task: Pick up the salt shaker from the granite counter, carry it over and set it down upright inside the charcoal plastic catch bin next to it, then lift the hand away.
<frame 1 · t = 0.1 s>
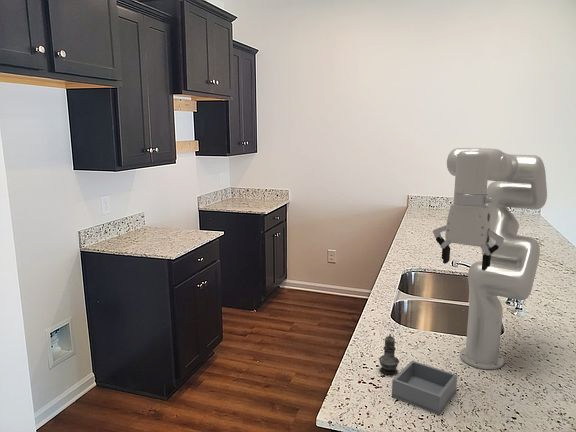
hand: (464, 265, 116), 37 cm above the worktop, tool pointing down, fingers open, 9 cm apart
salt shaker: (388, 371, 135), on the worktop
catch bin: (424, 394, 123), on the worktop
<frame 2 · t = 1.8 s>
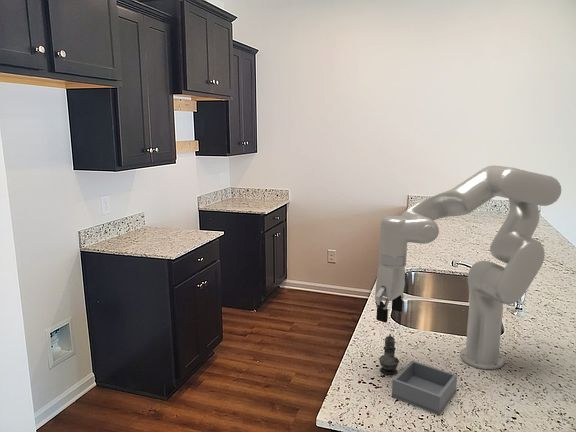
hand: (389, 315, 131), 18 cm above the worktop, tool pointing down, fingers open, 9 cm apart
nothing on the worktop moved.
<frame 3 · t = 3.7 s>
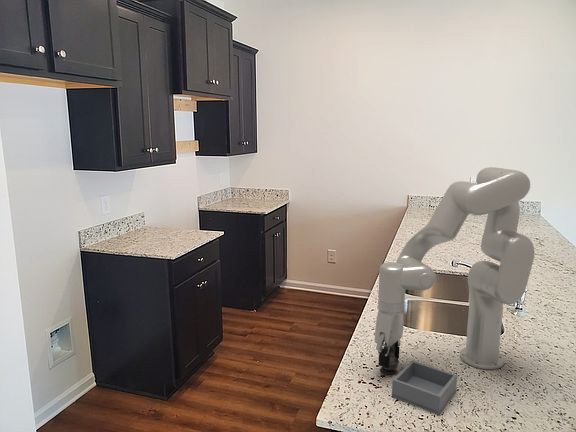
hand: (388, 361, 134), 3 cm above the worktop, tool pointing down, fingers closed on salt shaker, 5 cm apart
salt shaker: (388, 371, 135), on the worktop, touching gripper
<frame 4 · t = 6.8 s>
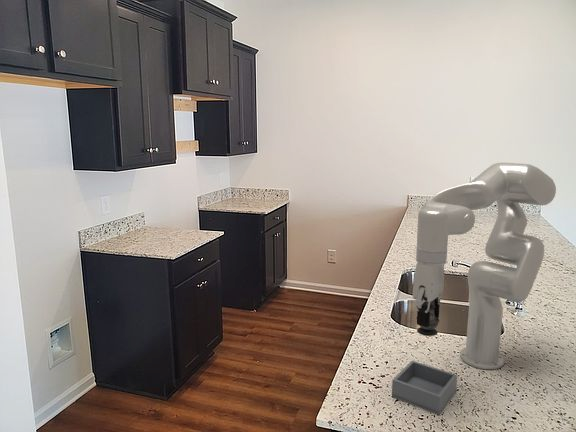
hand: (427, 320, 119), 21 cm above the worktop, tool pointing down, fingers closed on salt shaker, 5 cm apart
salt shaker: (427, 332, 120), point 18 cm above the worktop, touching gripper
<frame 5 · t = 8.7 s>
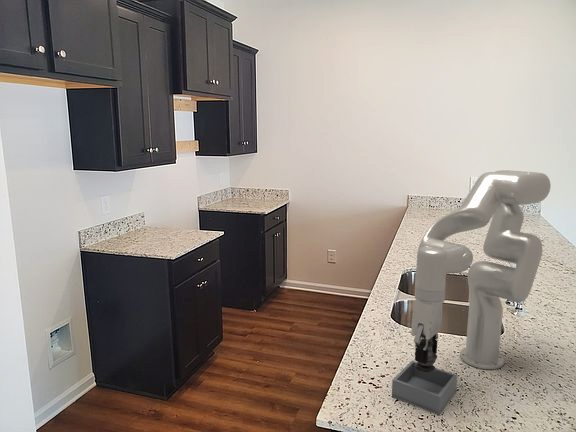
hand: (425, 356, 121), 11 cm above the worktop, tool pointing down, fingers closed on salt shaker, 5 cm apart
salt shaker: (425, 367, 121), point 8 cm above the worktop, touching gripper
when the fingers open (5 cm above the worktop, at t = 10.3 s): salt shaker drops 1 cm, resting on catch bin.
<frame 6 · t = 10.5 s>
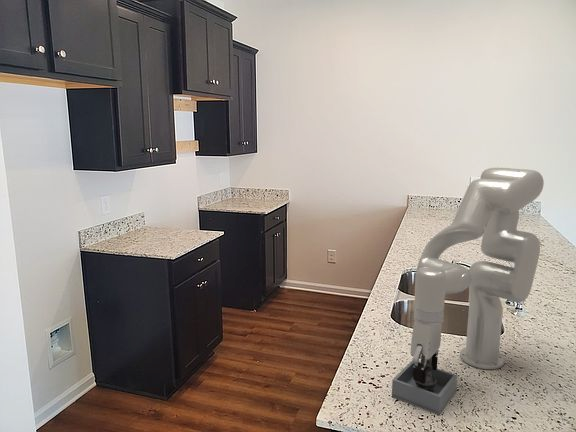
hand: (425, 374, 122), 6 cm above the worktop, tool pointing down, fingers open, 7 cm apart
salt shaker: (424, 391, 123), point 1 cm above the worktop, touching catch bin
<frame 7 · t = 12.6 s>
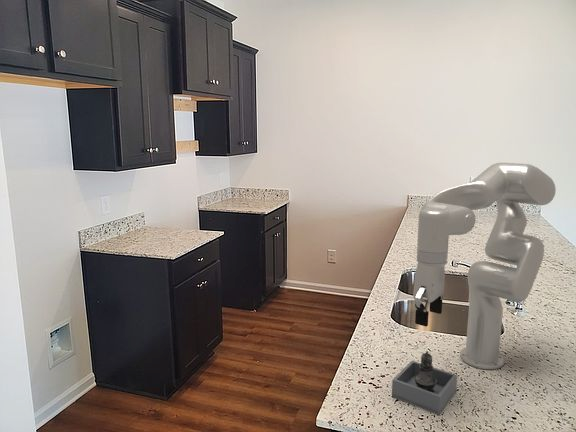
hand: (428, 318, 119), 22 cm above the worktop, tool pointing down, fingers open, 9 cm apart
nothing on the worktop moved.
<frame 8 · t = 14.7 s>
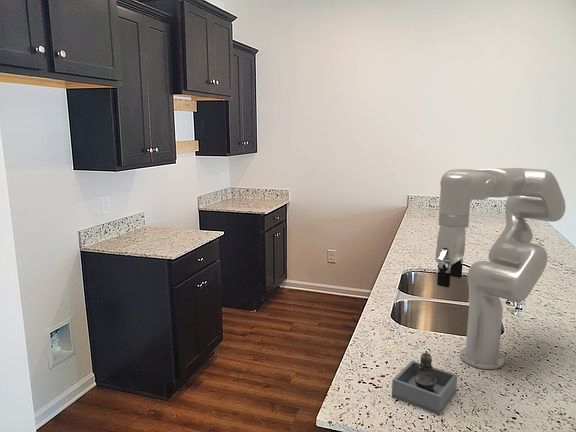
hand: (449, 281, 123), 30 cm above the worktop, tool pointing down, fingers open, 9 cm apart
nothing on the worktop moved.
at the end: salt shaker inside the target area on the catch bin (0.1 cm from its centre), point 0.6 cm above the catch bin's base; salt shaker tilted 0°; the gripper is holding nothing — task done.
